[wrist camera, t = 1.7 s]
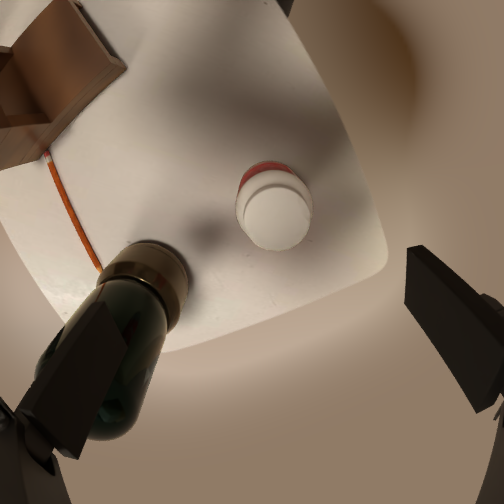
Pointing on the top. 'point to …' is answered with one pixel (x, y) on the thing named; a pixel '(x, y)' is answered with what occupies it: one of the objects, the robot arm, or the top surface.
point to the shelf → (49, 80)
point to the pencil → (71, 212)
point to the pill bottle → (273, 206)
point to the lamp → (132, 327)
